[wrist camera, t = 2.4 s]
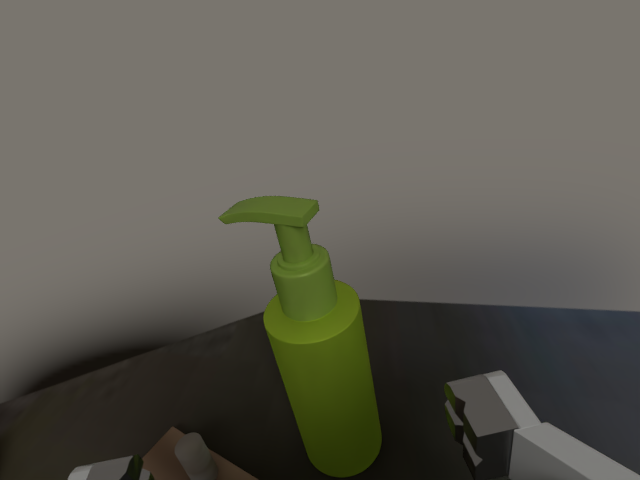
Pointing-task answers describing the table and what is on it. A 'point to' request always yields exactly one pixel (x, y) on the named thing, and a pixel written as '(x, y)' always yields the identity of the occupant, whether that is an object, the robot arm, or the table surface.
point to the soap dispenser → (317, 341)
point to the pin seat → (189, 460)
